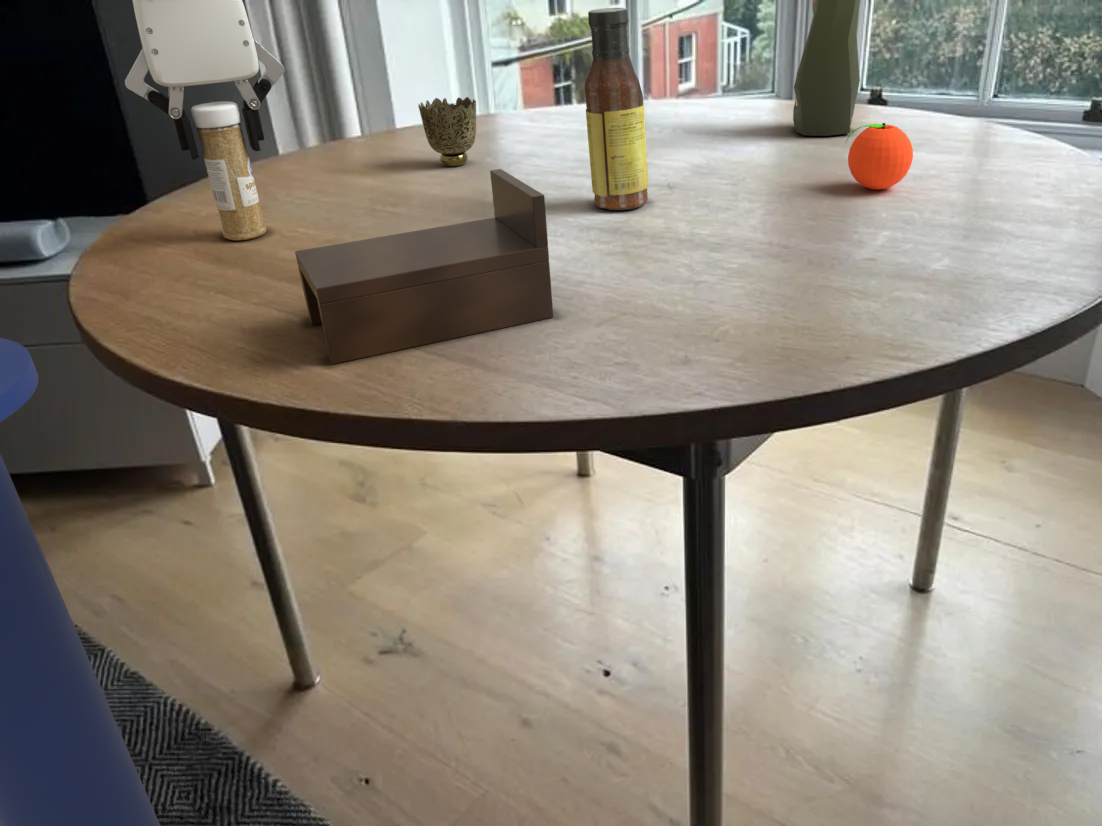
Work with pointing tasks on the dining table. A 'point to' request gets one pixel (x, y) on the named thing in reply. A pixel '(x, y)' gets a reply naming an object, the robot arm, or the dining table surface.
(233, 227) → the sprinkles bottle
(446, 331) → the shelf
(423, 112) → the cup
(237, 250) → the dining table surface
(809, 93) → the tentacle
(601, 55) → the sauce bottle
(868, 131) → the clementine
